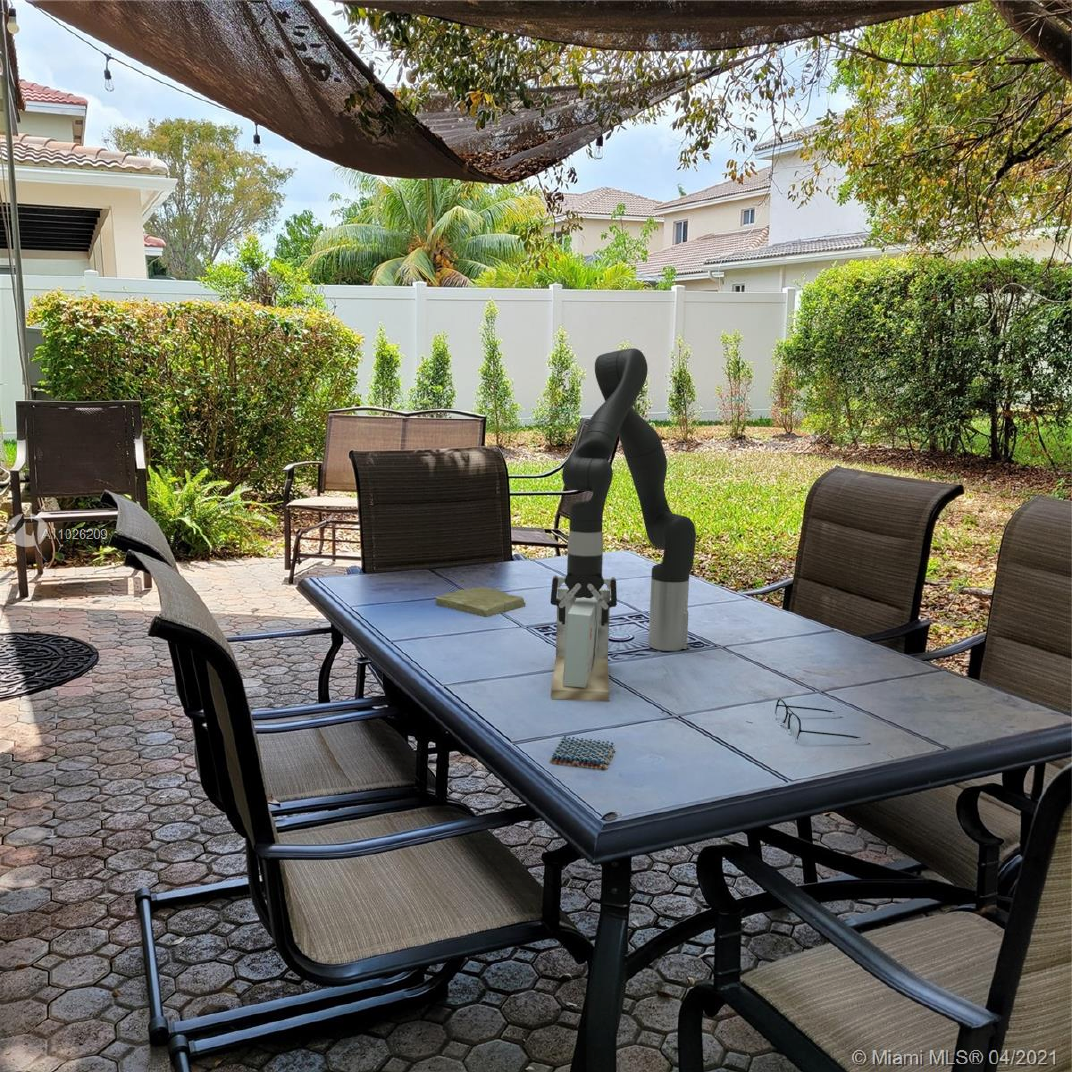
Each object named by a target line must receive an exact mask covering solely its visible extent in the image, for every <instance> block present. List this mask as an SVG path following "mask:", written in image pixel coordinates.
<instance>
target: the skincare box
mask: <svg viewBox="0 0 1072 1072" xmlns="http://www.w3.org/2000/svg"><path fill="white" fill-rule="evenodd" d="M599 611H600V603H599V602H598V601H597V600H596V598H595V597H592V598H585V597H582V598H576V600H575V602H574V603H573V605H572V607H571V609H570V610H569V612H568V616H567V630H566V646H565V661H564V673H563V686H571V687H582V688H585V687H586V685H587V682H588V679H589V677H590V674H591V672H592V669H593V667H594V664H595V661H596V653H597V639H598V625H599Z"/></svg>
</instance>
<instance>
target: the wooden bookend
mask: <svg viewBox="0 0 1072 1072" xmlns="http://www.w3.org/2000/svg"><path fill="white" fill-rule="evenodd" d="M568 590H569V589H568V587H558V588H557V599H560V600H561V599H562V598H563V596H564V595H565V594H566V592H567V591H568ZM599 591H600V592H601V594H602V595H603V597H604V598H605V600H606V601H610V600H611V589H608V588H601V589H600V590H599ZM576 598H577V597H575V596H573V597H572V598H571V599H570V600H569V601H568V602H567V604H566V605H565V606H566V610H565V625H562V622H559V607H558V606H556V632H555V634H556V635H555V638H556V639H555V659H554V667H553V675H552V682H551V693H550V694H551V695H550V699H552V700H572V701H573V700H574V701H594V702H595V701H597V702H599V701H600V702H610V678H609V677H610V675H609V641H610V640H609V638H610V636H609V634H610V613H611V611H610V609H611V608H609V609H608V622H607V623H605V624H604V626H601V614H602V606H601V605H600V611H599V625H598V639H597V653H596V661H595V664H594V667H593V669H592V672H591V674H590V677H589V679H588V682H587V685H586V687H585V688H582V687H571V686H563V673H564V661H565V646H566V630H567V616H568V612H569V610H570V609H571V607H572V605H573V603H574V602H575V600H576Z"/></svg>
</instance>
